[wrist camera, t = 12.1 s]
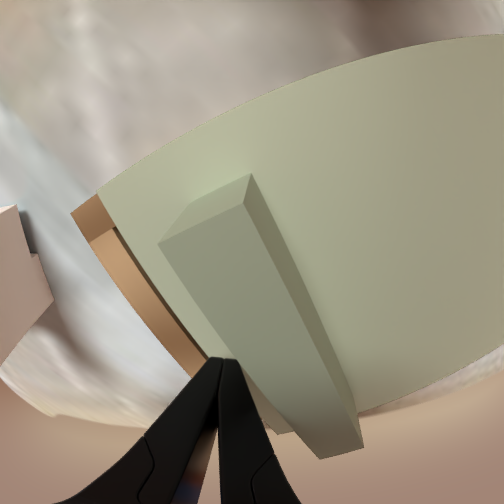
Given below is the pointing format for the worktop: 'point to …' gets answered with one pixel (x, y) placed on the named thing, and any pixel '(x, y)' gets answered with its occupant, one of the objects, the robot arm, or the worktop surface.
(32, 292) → the bracket
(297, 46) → the worktop surface
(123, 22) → the worktop surface
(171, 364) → the worktop surface
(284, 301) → the lid
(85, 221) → the brown box
